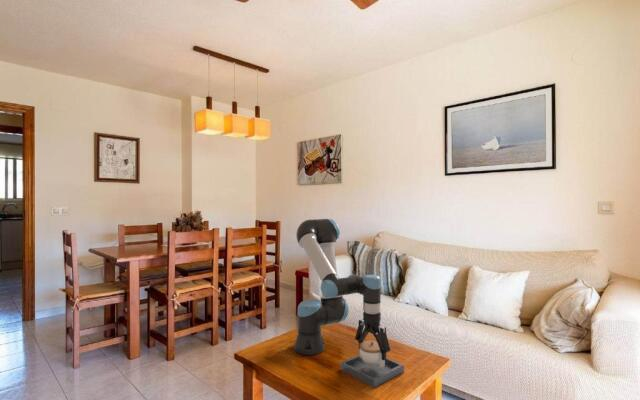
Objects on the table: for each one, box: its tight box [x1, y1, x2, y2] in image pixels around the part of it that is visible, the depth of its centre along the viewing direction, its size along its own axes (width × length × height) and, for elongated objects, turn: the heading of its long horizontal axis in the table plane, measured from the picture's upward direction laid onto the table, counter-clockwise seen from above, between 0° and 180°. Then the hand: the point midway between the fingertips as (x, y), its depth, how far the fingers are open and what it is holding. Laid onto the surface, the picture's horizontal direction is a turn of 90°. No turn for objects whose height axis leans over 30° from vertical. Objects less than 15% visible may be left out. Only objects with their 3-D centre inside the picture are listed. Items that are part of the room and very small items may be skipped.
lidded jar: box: [359, 339, 381, 366], centre depth 152 cm, size 11×11×9 cm
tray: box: [339, 354, 405, 389], centre depth 152 cm, size 19×19×3 cm
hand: (371, 361), depth 152 cm, fingers closed on lidded jar, 11 cm apart
